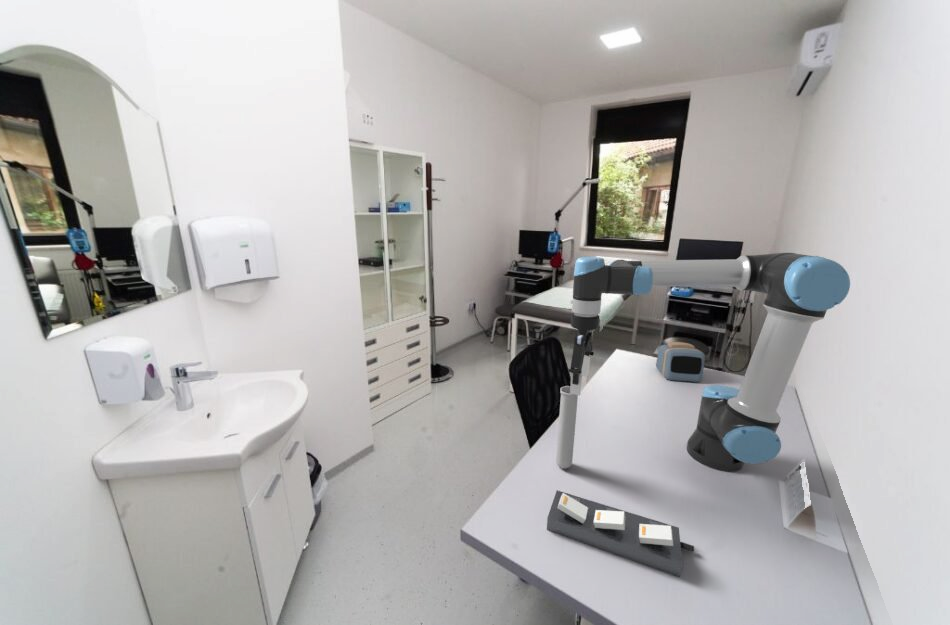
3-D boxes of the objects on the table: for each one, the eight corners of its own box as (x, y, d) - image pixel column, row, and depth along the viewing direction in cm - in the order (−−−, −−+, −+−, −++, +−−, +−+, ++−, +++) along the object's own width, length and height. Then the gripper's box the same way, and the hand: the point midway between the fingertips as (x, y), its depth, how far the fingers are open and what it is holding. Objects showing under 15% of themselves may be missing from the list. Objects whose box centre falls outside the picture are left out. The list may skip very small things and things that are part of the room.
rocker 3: (672, 531, 80) (670, 525, 80) (673, 545, 76) (671, 539, 76) (640, 529, 83) (639, 523, 83) (640, 542, 79) (638, 536, 79)
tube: (569, 474, 106) (575, 396, 100) (551, 468, 109) (557, 391, 102) (575, 464, 110) (581, 389, 104) (558, 458, 113) (563, 384, 107)
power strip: (691, 544, 83) (694, 530, 82) (696, 583, 74) (699, 567, 73) (555, 501, 96) (556, 488, 95) (546, 529, 87) (547, 515, 86)
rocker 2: (625, 516, 84) (624, 510, 83) (624, 530, 80) (623, 523, 80) (597, 515, 87) (595, 509, 86) (594, 527, 83) (593, 521, 83)
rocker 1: (585, 511, 88) (588, 507, 87) (583, 523, 84) (585, 519, 83) (560, 496, 90) (563, 492, 89) (557, 508, 86) (559, 503, 85)
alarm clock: (664, 380, 169) (669, 348, 165) (654, 367, 184) (658, 337, 180) (703, 383, 166) (709, 350, 162) (689, 369, 182) (694, 339, 178)
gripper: (580, 303, 113) (575, 367, 119) (561, 322, 92) (556, 399, 97) (605, 305, 110) (599, 371, 115) (591, 326, 88) (585, 406, 94)
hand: (580, 384), depth 106 cm, fingers open, 13 cm apart
